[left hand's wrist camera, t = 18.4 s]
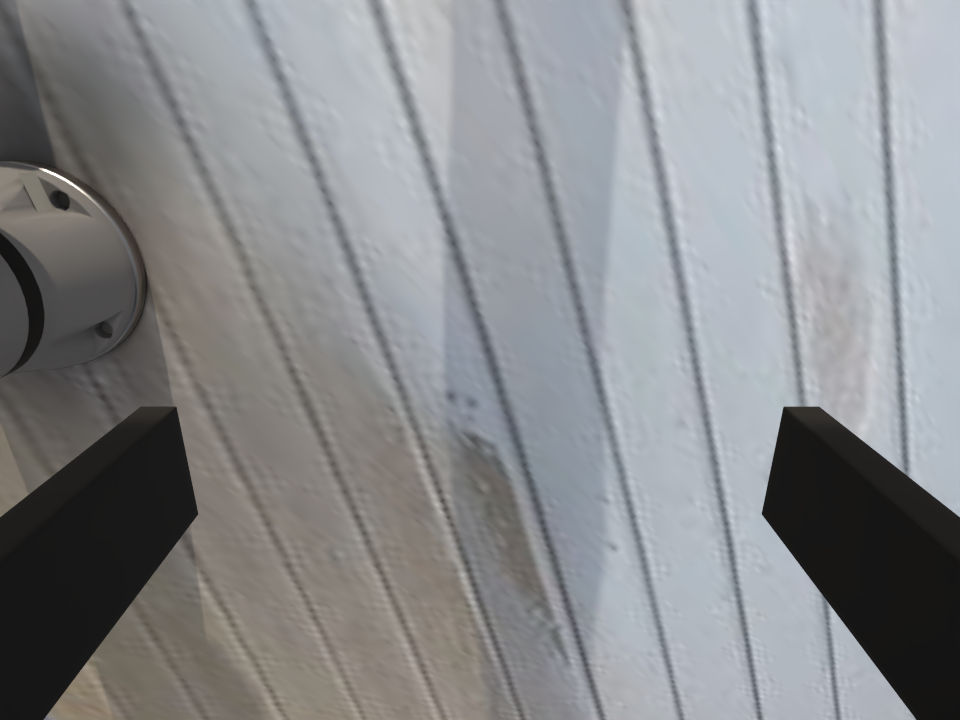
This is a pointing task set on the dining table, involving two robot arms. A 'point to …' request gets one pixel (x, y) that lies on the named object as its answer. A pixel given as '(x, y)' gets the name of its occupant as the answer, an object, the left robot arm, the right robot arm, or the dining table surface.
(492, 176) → the dining table surface
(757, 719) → the dining table surface
